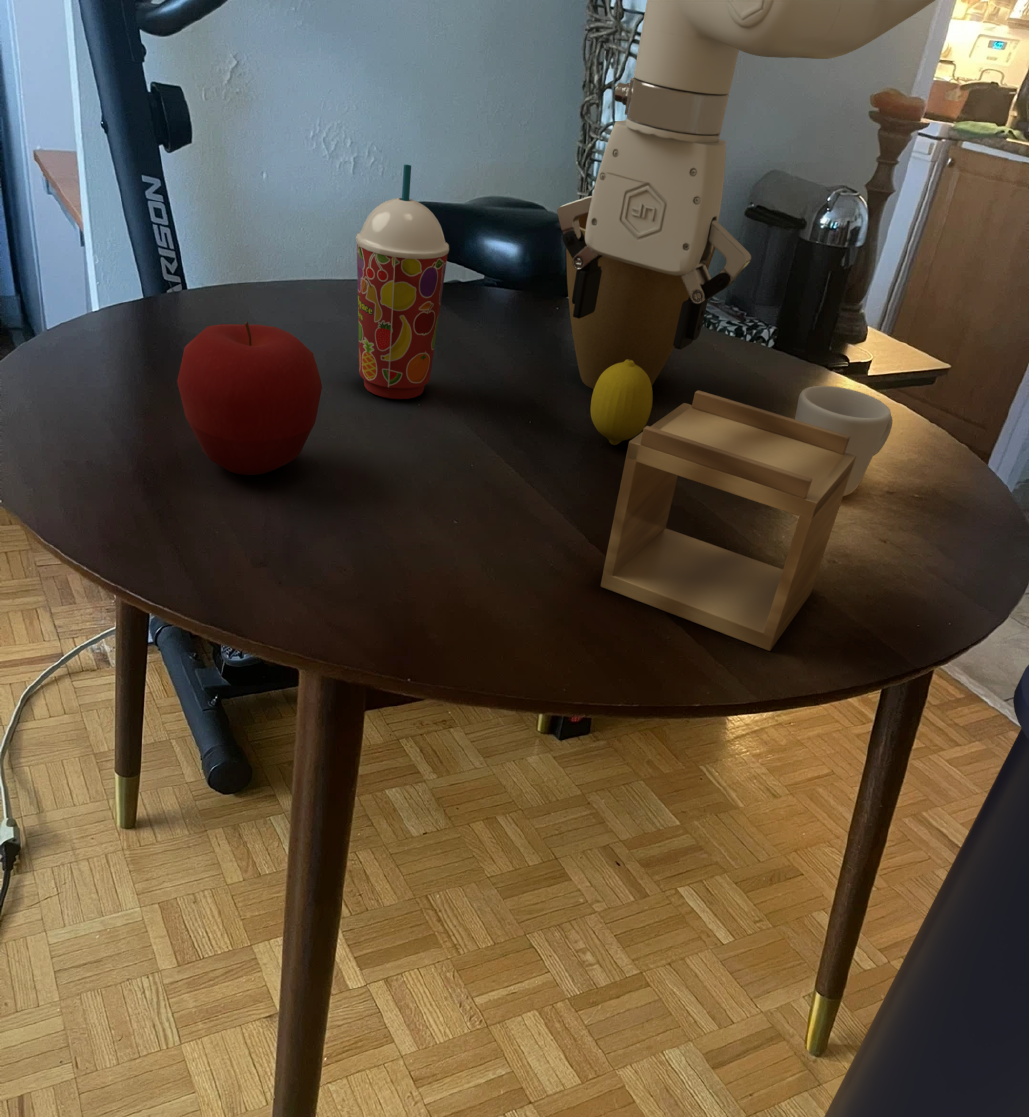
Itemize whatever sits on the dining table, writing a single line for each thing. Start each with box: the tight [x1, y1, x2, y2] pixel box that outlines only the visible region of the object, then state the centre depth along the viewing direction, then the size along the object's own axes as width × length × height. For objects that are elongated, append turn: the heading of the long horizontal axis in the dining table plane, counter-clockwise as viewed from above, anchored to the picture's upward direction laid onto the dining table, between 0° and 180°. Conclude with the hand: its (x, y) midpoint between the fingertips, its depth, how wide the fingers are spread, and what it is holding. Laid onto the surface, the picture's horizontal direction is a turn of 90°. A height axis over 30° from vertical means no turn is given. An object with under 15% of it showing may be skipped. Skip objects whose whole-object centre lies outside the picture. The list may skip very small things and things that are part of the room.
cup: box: [794, 385, 894, 497], centre depth 96 cm, size 11×8×8 cm
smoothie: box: [355, 163, 450, 400], centre depth 98 cm, size 8×8×20 cm
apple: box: [176, 321, 323, 476], centre depth 83 cm, size 11×11×12 cm
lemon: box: [590, 360, 654, 446], centre depth 97 cm, size 6×6×8 cm
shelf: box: [600, 390, 856, 652], centre depth 75 cm, size 13×10×12 cm
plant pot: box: [565, 213, 716, 390], centre depth 108 cm, size 15×15×16 cm
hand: (632, 329), depth 93 cm, fingers open, 9 cm apart
